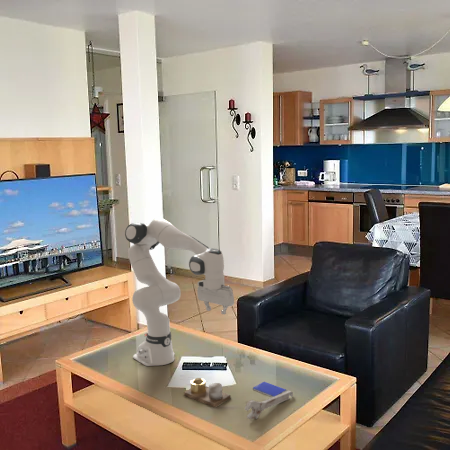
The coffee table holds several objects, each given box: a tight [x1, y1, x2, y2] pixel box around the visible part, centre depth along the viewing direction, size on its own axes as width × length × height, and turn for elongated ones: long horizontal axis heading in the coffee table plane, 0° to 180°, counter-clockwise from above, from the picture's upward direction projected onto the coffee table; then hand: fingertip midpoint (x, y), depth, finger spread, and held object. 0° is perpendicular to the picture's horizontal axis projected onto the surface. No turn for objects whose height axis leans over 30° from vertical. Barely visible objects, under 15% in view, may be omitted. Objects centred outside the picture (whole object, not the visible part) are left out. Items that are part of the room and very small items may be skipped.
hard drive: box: [252, 381, 288, 398], centre depth 237 cm, size 2×8×12 cm
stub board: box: [183, 377, 232, 408], centre depth 232 cm, size 18×10×6 cm, turn 49°
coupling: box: [190, 378, 207, 394], centre depth 236 cm, size 6×6×4 cm
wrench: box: [244, 390, 294, 420], centre depth 220 cm, size 8×2×30 cm
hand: (216, 312), depth 255 cm, fingers open, 8 cm apart
